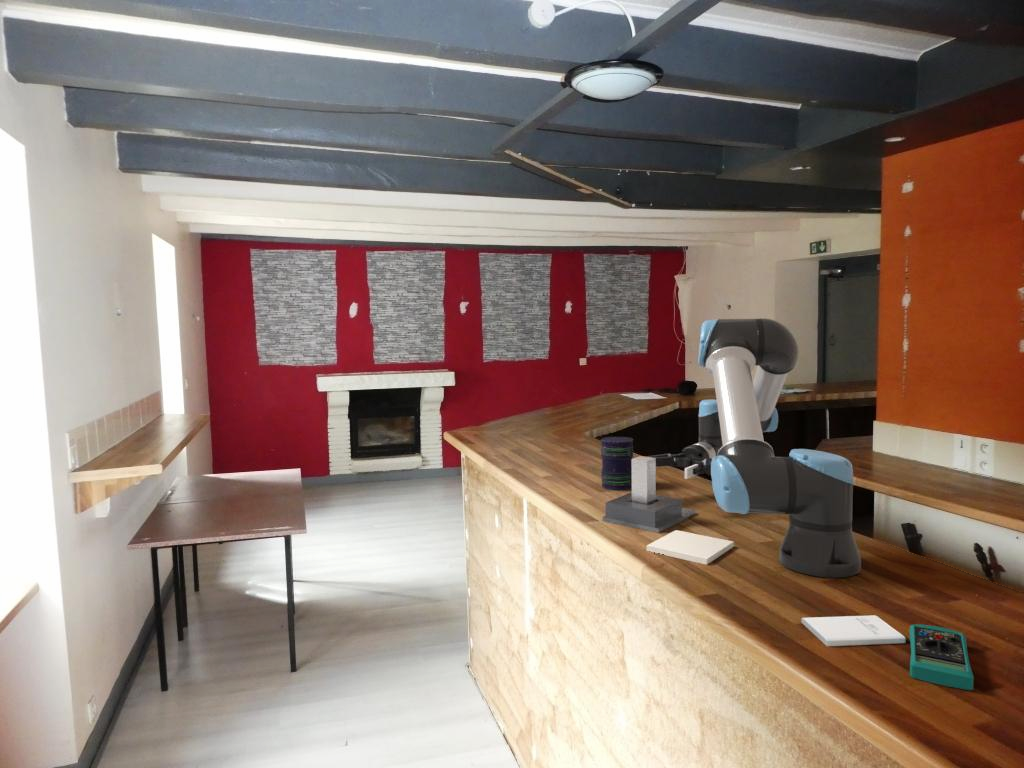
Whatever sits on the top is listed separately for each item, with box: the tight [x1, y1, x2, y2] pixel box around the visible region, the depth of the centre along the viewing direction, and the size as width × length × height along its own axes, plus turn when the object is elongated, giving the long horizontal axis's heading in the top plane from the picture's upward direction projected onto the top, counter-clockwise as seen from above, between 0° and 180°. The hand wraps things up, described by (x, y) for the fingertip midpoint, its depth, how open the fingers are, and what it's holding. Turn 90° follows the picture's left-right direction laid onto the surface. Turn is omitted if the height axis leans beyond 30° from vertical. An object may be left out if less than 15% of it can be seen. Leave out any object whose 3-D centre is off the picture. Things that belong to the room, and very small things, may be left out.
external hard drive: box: [801, 614, 907, 647], centre depth 105 cm, size 2×8×12 cm
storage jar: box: [600, 436, 634, 492], centre depth 202 cm, size 10×10×15 cm
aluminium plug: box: [631, 455, 657, 505], centre depth 167 cm, size 4×4×15 cm
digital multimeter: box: [909, 623, 975, 691], centre depth 96 cm, size 7×15×3 cm, turn 149°
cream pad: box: [646, 529, 735, 566], centre depth 146 cm, size 14×14×1 cm
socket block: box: [601, 491, 697, 534], centre depth 170 cm, size 16×20×5 cm
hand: (662, 470), depth 174 cm, fingers open, 13 cm apart
